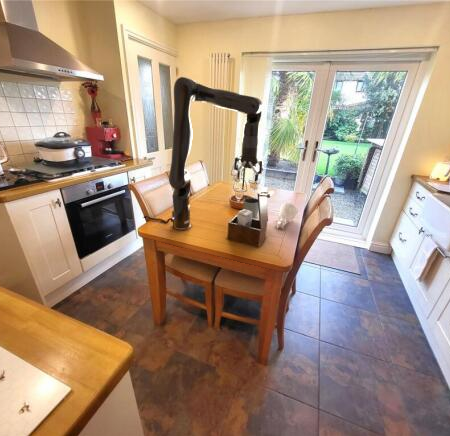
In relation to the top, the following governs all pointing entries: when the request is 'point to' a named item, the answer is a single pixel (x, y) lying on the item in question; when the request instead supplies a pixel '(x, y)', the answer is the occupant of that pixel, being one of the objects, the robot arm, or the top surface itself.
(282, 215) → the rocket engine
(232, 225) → the case
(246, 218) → the syrup box
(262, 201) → the case lid
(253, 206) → the grey cup
